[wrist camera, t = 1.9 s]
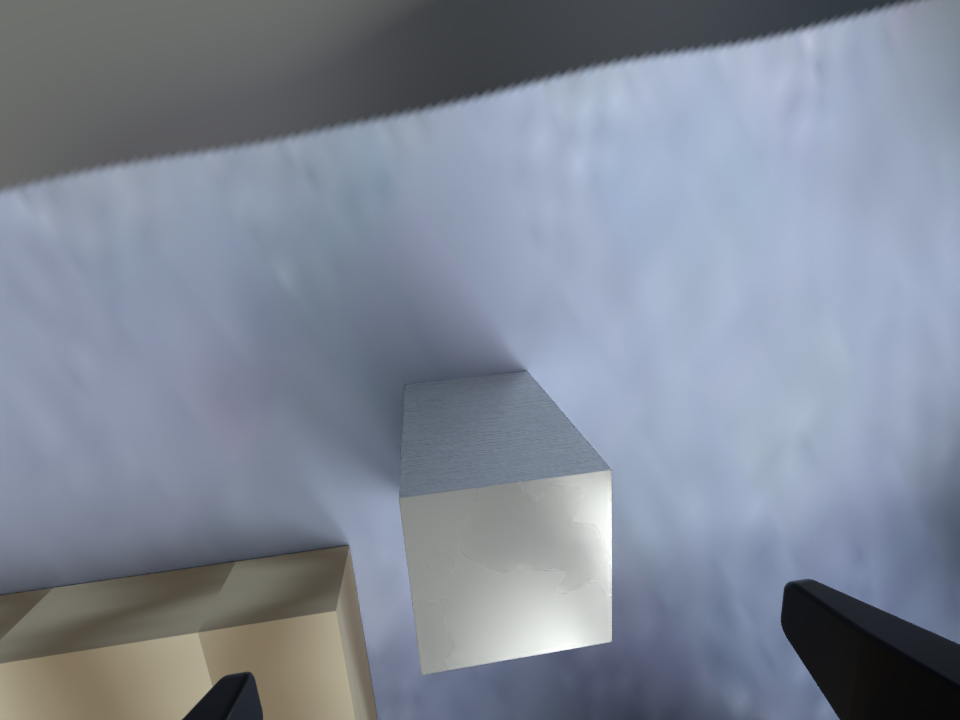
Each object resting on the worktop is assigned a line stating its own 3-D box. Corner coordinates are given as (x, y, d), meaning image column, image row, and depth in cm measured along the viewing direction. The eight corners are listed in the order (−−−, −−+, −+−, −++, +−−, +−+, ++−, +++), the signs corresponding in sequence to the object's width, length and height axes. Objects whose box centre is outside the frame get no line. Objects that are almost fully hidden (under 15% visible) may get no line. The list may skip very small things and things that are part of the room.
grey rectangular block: (527, 370, 16) (611, 469, 9) (532, 480, 17) (612, 642, 10) (405, 384, 15) (398, 498, 9) (418, 495, 16) (421, 675, 10)
